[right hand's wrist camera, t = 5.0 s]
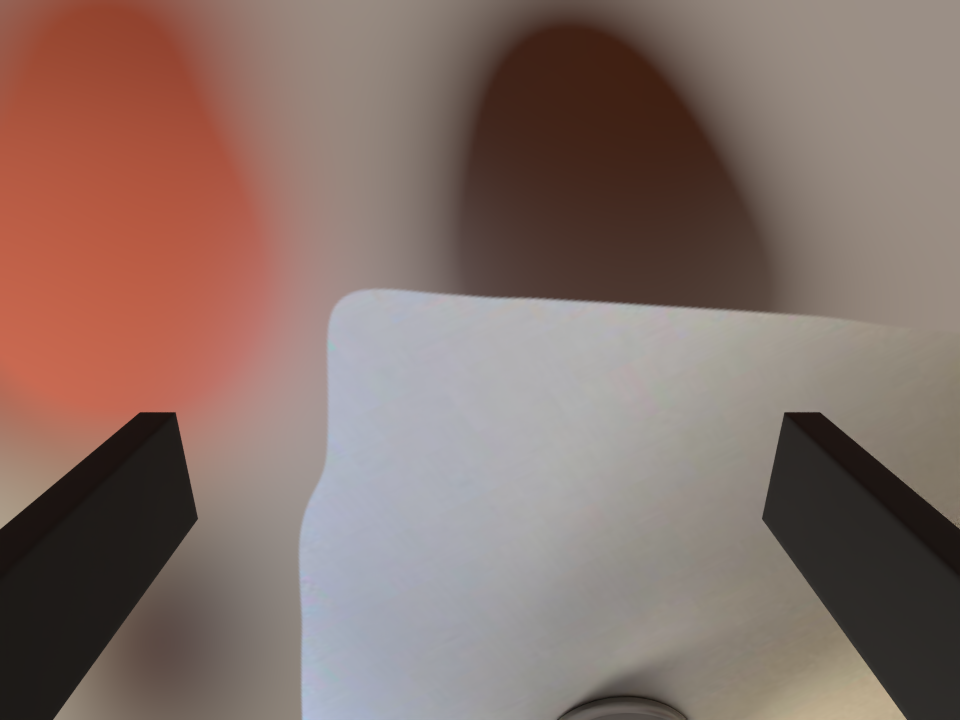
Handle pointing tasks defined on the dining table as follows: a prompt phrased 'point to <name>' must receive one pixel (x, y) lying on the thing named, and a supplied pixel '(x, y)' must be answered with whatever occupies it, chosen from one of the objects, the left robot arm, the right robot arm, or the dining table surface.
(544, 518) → the dining table surface
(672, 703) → the dining table surface
